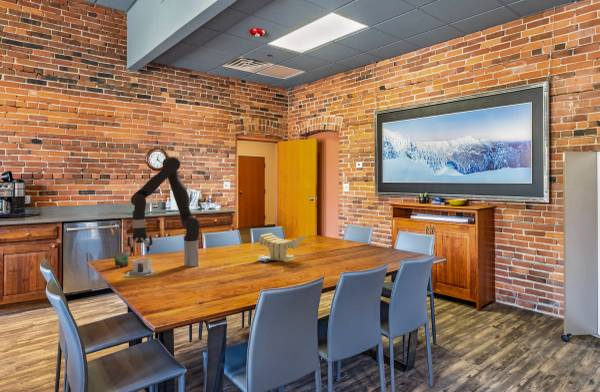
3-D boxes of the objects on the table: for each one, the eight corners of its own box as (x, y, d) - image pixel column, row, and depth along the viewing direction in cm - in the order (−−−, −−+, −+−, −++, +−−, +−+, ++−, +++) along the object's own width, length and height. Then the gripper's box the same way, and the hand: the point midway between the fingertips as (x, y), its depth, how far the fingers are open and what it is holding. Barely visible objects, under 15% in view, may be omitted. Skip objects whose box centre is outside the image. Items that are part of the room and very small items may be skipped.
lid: (152, 270, 236) (152, 260, 236) (149, 275, 224) (149, 265, 224) (131, 271, 233) (131, 262, 232) (127, 276, 221) (127, 266, 220)
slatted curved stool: (259, 259, 270) (259, 235, 269) (271, 255, 284) (271, 232, 283) (294, 264, 255) (294, 238, 254) (305, 259, 269) (305, 235, 268)
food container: (122, 268, 241) (121, 253, 241) (113, 268, 243) (113, 253, 242) (134, 264, 253) (133, 250, 253) (126, 264, 255) (125, 249, 254)
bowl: (152, 266, 247) (152, 257, 247) (149, 270, 237) (149, 261, 236) (134, 267, 245) (134, 258, 244) (131, 271, 234) (131, 262, 234)
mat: (155, 270, 236) (155, 269, 236) (152, 275, 225) (152, 274, 225) (128, 272, 232) (128, 271, 232) (124, 277, 221) (124, 276, 220)
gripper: (152, 225, 232) (153, 250, 233) (128, 226, 229) (129, 252, 230) (150, 226, 225) (151, 253, 226) (125, 228, 221) (126, 254, 222)
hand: (140, 252), depth 228 cm, fingers open, 8 cm apart
